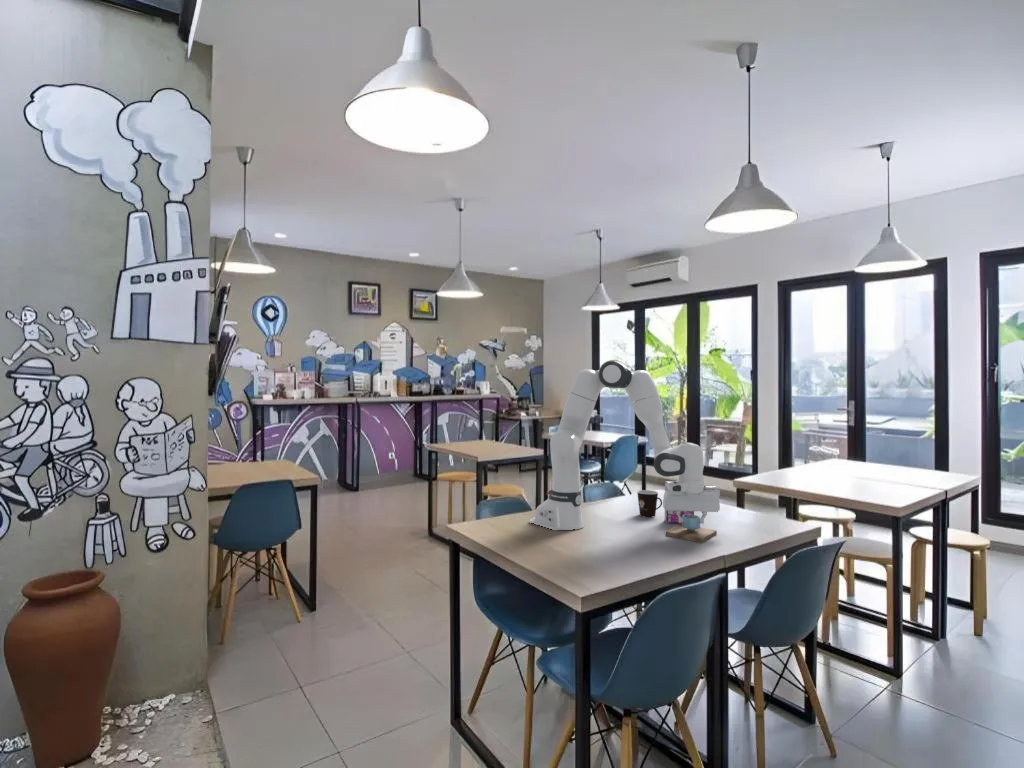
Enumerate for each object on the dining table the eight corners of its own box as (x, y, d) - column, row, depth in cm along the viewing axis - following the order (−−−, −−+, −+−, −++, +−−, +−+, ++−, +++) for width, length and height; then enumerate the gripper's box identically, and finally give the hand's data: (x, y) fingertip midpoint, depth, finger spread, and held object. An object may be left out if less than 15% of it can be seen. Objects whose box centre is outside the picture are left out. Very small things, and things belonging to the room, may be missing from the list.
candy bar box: (666, 523, 218) (666, 483, 218) (664, 520, 223) (664, 480, 223) (694, 524, 217) (694, 483, 217) (691, 521, 222) (692, 481, 222)
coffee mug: (634, 513, 235) (634, 490, 235) (653, 512, 236) (653, 490, 236) (643, 519, 223) (643, 495, 223) (663, 519, 224) (663, 495, 224)
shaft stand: (665, 535, 201) (665, 514, 200) (680, 527, 211) (680, 507, 211) (702, 542, 191) (702, 520, 191) (716, 534, 202) (716, 513, 202)
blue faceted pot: (684, 529, 199) (684, 518, 199) (681, 524, 205) (681, 514, 205) (701, 529, 198) (701, 518, 198) (697, 525, 204) (697, 514, 204)
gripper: (717, 485, 203) (717, 521, 203) (662, 483, 206) (662, 519, 206) (722, 488, 197) (722, 526, 197) (665, 486, 199) (665, 524, 199)
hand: (691, 522), depth 201 cm, fingers closed on blue faceted pot, 6 cm apart
